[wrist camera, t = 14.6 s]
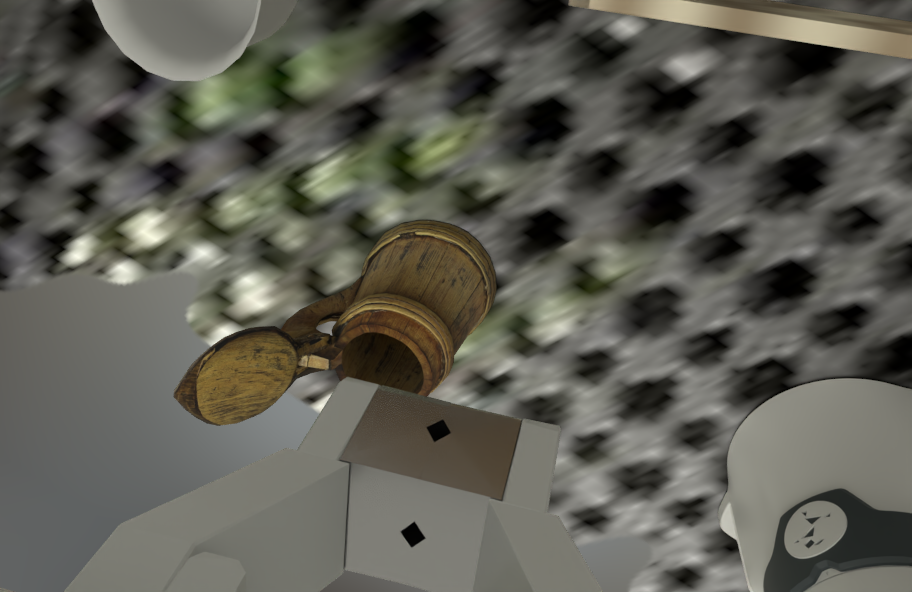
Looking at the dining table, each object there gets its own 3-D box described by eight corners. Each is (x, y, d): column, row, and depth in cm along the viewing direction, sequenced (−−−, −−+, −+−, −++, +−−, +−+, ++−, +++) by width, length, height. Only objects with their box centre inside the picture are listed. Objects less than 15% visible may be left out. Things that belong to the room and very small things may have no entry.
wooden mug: (313, 186, 51) (167, 321, 36) (509, 239, 50) (443, 402, 35) (303, 298, 56) (170, 460, 41) (482, 349, 54) (413, 536, 39)
